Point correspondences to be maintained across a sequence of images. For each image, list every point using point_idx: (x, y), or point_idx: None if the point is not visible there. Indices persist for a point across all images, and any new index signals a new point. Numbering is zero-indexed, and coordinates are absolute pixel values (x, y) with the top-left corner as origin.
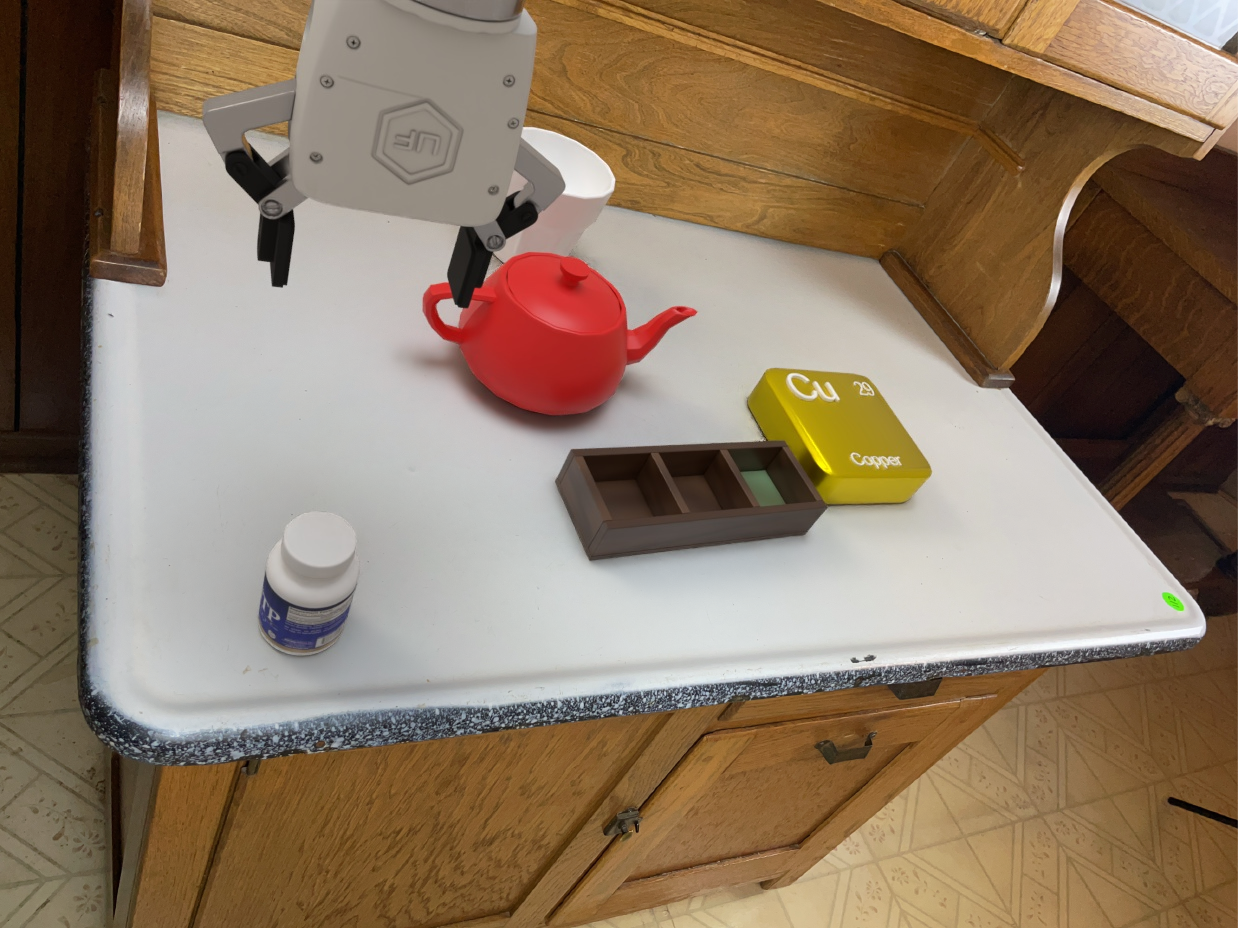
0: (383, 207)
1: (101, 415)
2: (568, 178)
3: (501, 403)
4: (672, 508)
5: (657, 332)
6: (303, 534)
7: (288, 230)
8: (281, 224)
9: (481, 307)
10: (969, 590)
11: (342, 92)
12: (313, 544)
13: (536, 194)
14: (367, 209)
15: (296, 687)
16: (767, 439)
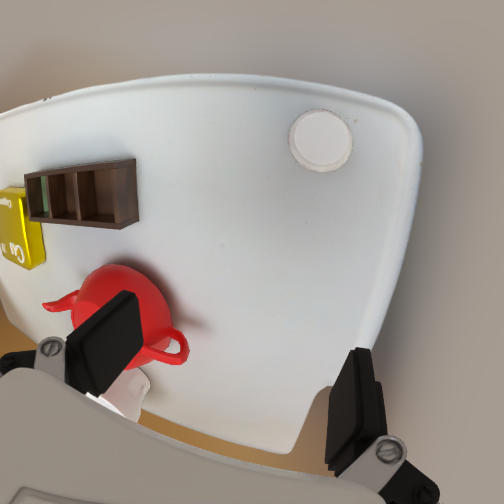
0: (198, 469)
1: (384, 311)
2: (104, 403)
3: (157, 285)
4: (81, 180)
5: (63, 300)
6: (334, 144)
7: (367, 421)
8: (378, 429)
9: (152, 343)
10: (6, 139)
11: None
12: (328, 133)
13: None
14: (238, 469)
15: (331, 102)
16: (41, 232)
